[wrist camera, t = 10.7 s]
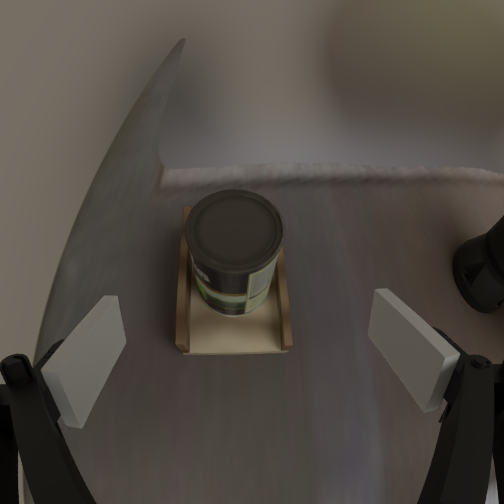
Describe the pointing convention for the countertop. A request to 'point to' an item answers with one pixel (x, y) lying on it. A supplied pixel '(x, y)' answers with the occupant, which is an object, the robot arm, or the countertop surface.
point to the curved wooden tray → (230, 328)
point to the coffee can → (234, 249)
